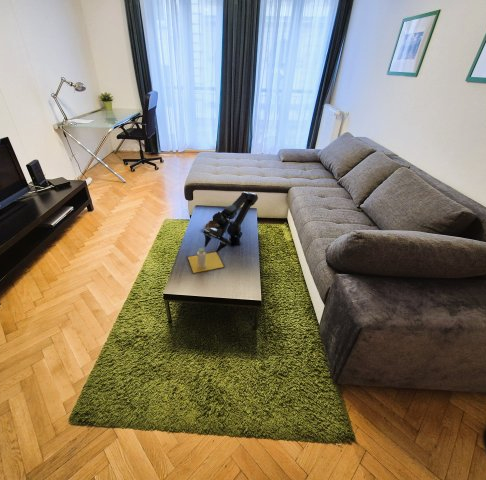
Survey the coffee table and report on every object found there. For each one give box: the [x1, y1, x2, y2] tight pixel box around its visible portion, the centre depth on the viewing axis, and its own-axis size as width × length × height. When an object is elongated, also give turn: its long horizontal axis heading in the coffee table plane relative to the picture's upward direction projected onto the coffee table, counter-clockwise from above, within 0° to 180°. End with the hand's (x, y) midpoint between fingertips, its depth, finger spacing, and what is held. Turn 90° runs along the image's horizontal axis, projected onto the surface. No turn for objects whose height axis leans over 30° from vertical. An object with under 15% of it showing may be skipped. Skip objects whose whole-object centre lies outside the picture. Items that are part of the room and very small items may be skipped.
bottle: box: [196, 247, 207, 269], centre depth 157 cm, size 5×5×12 cm
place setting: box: [201, 219, 235, 232], centre depth 196 cm, size 18×20×6 cm
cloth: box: [187, 251, 225, 274], centre depth 164 cm, size 19×16×1 cm
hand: (210, 249), depth 162 cm, fingers open, 9 cm apart
